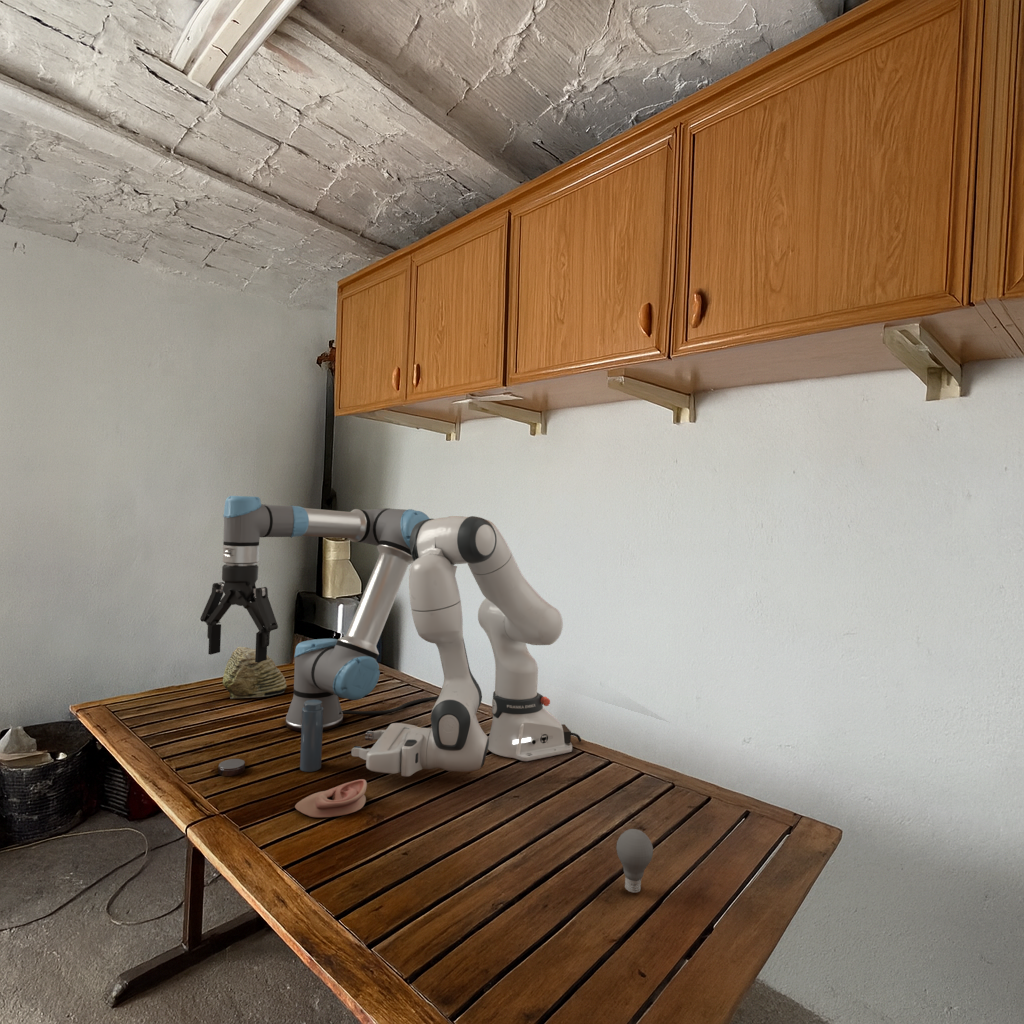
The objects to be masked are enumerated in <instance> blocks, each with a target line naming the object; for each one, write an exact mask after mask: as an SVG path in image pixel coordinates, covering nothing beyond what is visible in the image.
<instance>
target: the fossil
mask: <svg viewBox="0 0 1024 1024" xmlns="http://www.w3.org/2000/svg"><path fill="white" fill-rule="evenodd" d="M255 654H256V648H251V647H247V646H246V647H245V646H238V647H237V648H236V649H235V650H233V651H232V653H231V656H230V657H229V659H228V660H227V663H226V666H225V668H224V671H223V675H222V676H223V677H222V685H223V687H224V688H225V690H226V691H228V693H229V698H230V699H250V698H264V697H271V696H275V695H281V694H284V693H285V691H286V689H287V687H288V686H287V680H286V678H285V676H284V674H283V673H282V672H281V669H279V668H278V667H277V665H276V663H275V662H274V660H273V659H272V658H271V657H270V656H269V655H268V654H267V660H264V661H261V662H255Z"/></svg>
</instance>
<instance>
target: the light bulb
mask: <svg viewBox="0 0 1024 1024" xmlns="http://www.w3.org/2000/svg"><path fill="white" fill-rule="evenodd" d="M615 849H616V854H617V857H618V859H619V861H620V863H621V865H622V867H623V873H624V874H623V875H624V876H625V878H624V888H625V890H627V891H628V892H630V893H634V894H635V893H639V892H640V891H641V889H642V887H641V886H642V879H643V877H644V875H645V871H646V868H647V867H648V866H649V864H650V863H651V861H652V859H653V855H654V847H653V843H652V841H651V838H649V836H648V835H647V834H646V833H645V832H643V831H642V830H641V829H636V828H629V829H627V830H625V831H623V832H622V833H621V834H620V835H619V837H618V839H617V841H616V847H615Z"/></svg>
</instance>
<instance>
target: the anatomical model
mask: <svg viewBox="0 0 1024 1024" xmlns="http://www.w3.org/2000/svg"><path fill="white" fill-rule="evenodd" d="M367 788H368V782H367V780H366V779H364V778H361V779H355V780H352V781H348V782H345V783H342V784H340V785H337V786H335V787H332V788H329V789H327V790H322V791H317V792H315V793H312V794H310V795H308V796H306V797H304V798H302V799H301V800H299V801H298V802H297V803H296V804H295V805H294V808H295V810H297V811H298V812H299V813H301V814H303V815H306V816H308V817H310V818H317V819H319V818H333V817H340V816H345V815H349V814H353V813H355V812H358V811H360V810H361V809H362V808H364V806H365V804H366V802H367V797H366V795H365V793H366V791H367Z"/></svg>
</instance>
